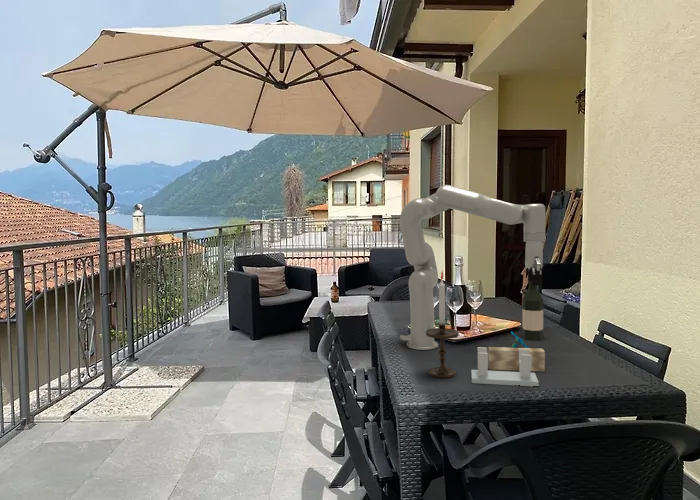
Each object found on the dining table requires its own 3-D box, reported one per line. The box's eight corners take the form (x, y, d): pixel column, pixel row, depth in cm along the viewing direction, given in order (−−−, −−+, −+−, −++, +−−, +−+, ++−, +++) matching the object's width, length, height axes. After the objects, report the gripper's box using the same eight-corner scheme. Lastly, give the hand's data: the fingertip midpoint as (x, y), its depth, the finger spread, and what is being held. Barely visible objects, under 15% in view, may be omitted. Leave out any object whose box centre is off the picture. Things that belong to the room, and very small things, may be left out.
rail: (489, 369, 170) (489, 350, 170) (488, 366, 174) (488, 346, 174) (544, 372, 167) (544, 351, 166) (542, 368, 171) (542, 348, 170)
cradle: (471, 383, 157) (471, 353, 156) (471, 374, 165) (471, 346, 165) (538, 386, 152) (538, 356, 152) (534, 377, 161) (534, 348, 160)
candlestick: (436, 366, 174) (435, 268, 171) (464, 372, 167) (464, 269, 165) (420, 375, 166) (419, 271, 163) (449, 381, 159) (448, 273, 156)
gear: (534, 350, 186) (514, 331, 188) (522, 361, 187) (502, 341, 189) (530, 346, 197) (511, 328, 199) (519, 357, 197) (500, 338, 199)
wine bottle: (521, 339, 208) (522, 269, 206) (522, 335, 216) (523, 267, 214) (542, 341, 205) (543, 269, 203) (543, 336, 213) (543, 267, 211)
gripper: (520, 236, 191) (520, 280, 192) (527, 238, 174) (527, 287, 175) (540, 236, 190) (541, 280, 191) (549, 238, 173) (549, 287, 174)
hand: (534, 283), depth 183 cm, fingers open, 9 cm apart
